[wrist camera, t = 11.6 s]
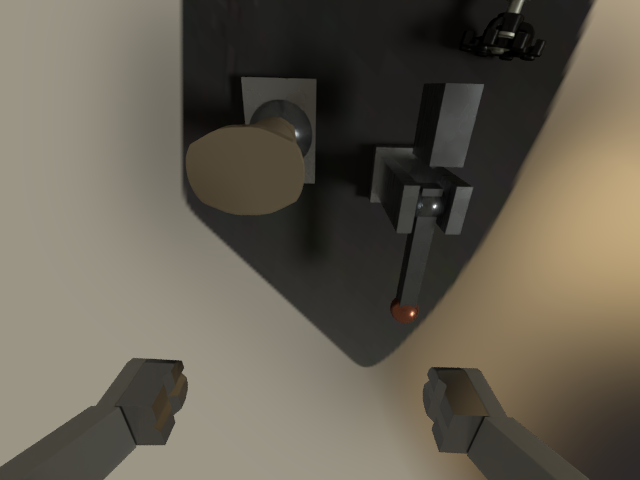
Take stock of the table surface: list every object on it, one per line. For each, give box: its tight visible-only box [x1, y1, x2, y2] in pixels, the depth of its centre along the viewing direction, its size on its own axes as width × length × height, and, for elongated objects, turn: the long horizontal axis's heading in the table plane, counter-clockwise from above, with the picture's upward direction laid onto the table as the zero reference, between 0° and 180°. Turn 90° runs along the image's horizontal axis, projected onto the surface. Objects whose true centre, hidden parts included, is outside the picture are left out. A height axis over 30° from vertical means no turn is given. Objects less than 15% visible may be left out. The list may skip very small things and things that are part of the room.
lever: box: [390, 83, 484, 323], centre depth 25 cm, size 22×3×4 cm, turn 179°
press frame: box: [241, 77, 473, 234], centre depth 26 cm, size 12×20×11 cm, turn 89°
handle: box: [186, 117, 305, 215], centre depth 23 cm, size 5×6×15 cm
